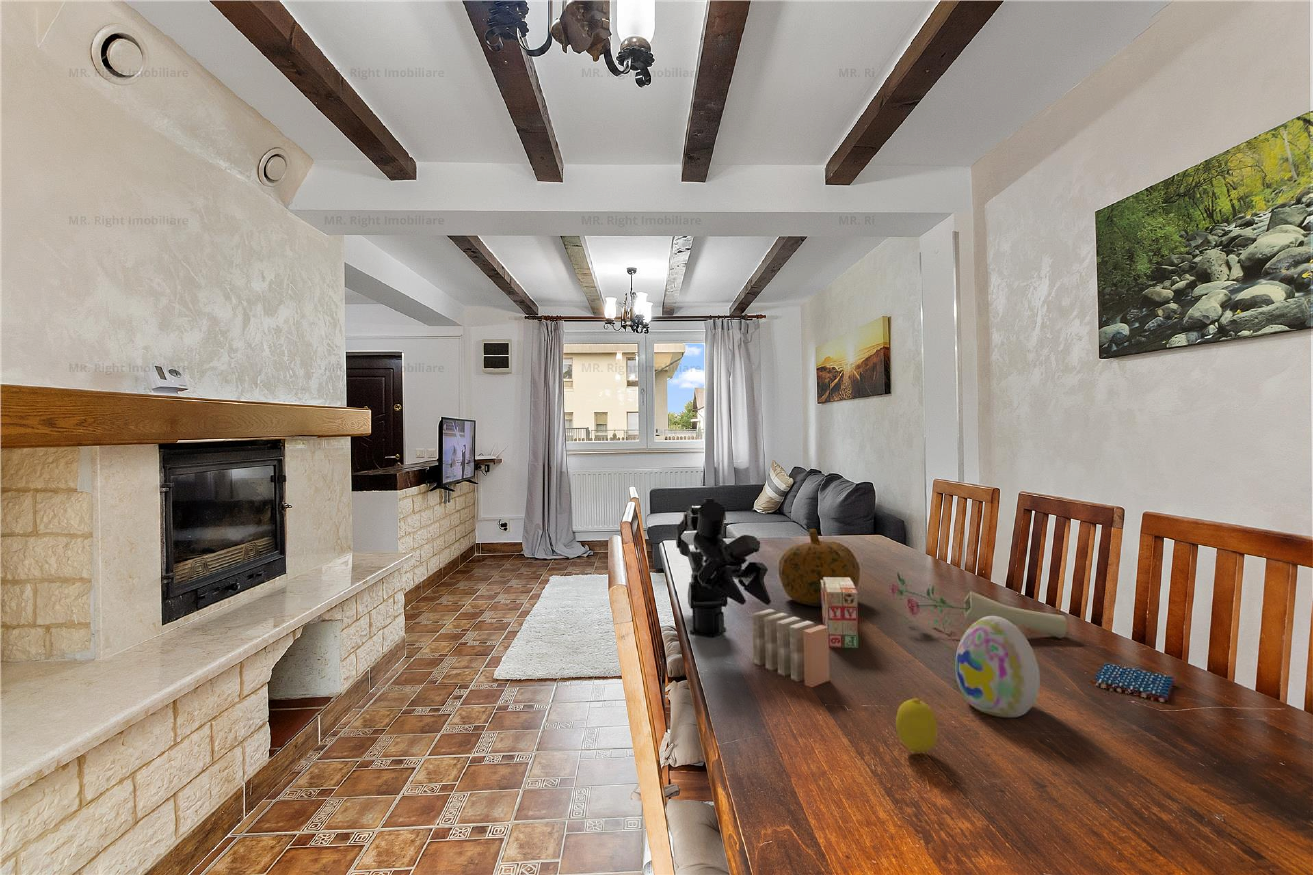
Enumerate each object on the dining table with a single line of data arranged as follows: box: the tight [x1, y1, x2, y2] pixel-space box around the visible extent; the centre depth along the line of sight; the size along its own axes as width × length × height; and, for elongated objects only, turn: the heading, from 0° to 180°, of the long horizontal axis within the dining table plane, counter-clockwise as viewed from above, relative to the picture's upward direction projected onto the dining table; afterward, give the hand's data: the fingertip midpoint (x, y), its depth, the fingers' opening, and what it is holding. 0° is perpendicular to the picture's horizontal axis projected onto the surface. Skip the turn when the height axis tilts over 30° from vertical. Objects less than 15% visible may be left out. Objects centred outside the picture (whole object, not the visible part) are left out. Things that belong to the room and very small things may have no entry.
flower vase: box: [889, 571, 1068, 639], centre depth 135 cm, size 12×12×35 cm
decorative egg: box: [954, 616, 1041, 718], centre depth 101 cm, size 12×12×15 cm
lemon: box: [895, 697, 939, 755], centre depth 87 cm, size 6×6×8 cm
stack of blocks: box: [820, 577, 859, 649], centre depth 139 cm, size 21×6×12 cm, turn 169°
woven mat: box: [1091, 662, 1175, 703], centre depth 107 cm, size 10×11×2 cm
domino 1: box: [752, 608, 777, 666], centre depth 123 cm, size 2×5×10 cm, turn 125°
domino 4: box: [790, 620, 815, 683], centre depth 115 cm, size 2×5×10 cm, turn 125°
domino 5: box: [803, 624, 830, 688], centre depth 112 cm, size 2×5×10 cm, turn 125°
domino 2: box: [764, 612, 789, 672], centre depth 120 cm, size 2×5×10 cm, turn 125°
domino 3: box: [777, 616, 802, 677], centre depth 117 cm, size 2×5×10 cm, turn 125°
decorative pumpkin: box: [778, 528, 861, 607], centre depth 163 cm, size 20×21×20 cm
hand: (757, 603), depth 125 cm, fingers open, 9 cm apart
